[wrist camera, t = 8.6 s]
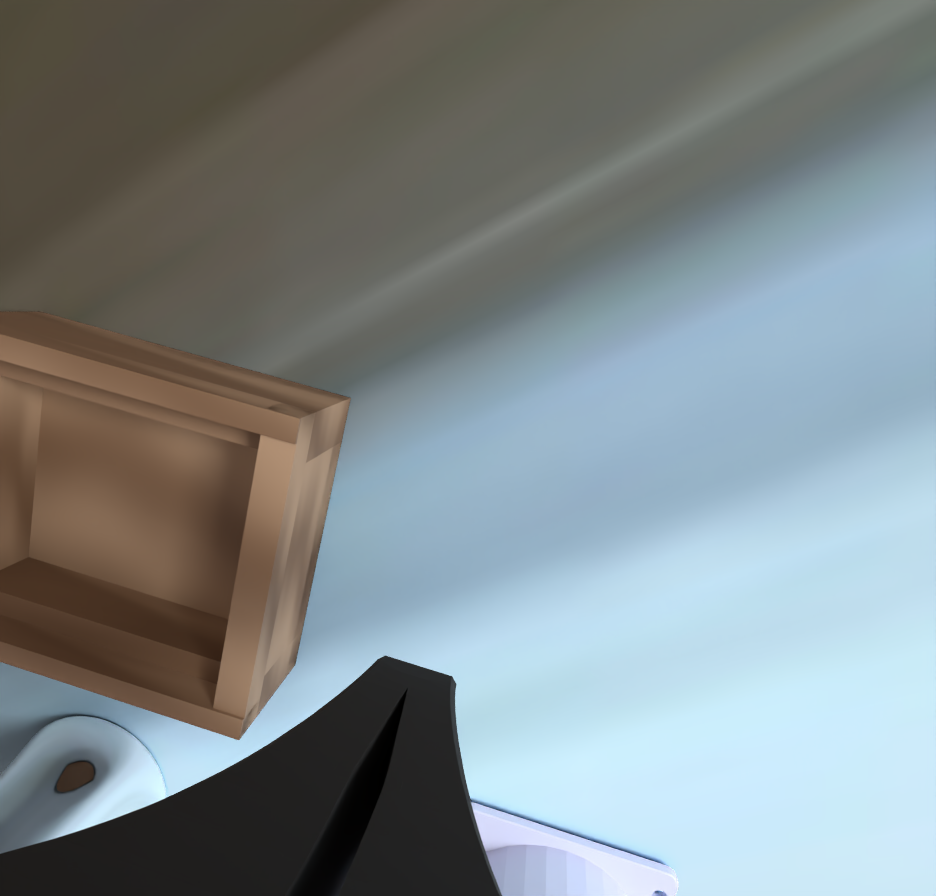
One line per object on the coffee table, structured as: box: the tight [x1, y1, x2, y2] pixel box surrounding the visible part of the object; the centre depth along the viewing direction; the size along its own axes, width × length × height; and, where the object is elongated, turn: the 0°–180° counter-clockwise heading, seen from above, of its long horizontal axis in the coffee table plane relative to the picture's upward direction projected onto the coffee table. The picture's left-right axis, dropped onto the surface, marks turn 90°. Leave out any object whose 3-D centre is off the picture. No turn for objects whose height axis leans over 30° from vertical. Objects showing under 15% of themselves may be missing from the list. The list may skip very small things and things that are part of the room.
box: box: [0, 312, 351, 740], centre depth 20 cm, size 10×11×4 cm
